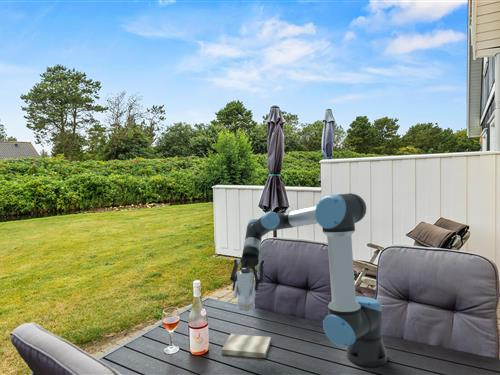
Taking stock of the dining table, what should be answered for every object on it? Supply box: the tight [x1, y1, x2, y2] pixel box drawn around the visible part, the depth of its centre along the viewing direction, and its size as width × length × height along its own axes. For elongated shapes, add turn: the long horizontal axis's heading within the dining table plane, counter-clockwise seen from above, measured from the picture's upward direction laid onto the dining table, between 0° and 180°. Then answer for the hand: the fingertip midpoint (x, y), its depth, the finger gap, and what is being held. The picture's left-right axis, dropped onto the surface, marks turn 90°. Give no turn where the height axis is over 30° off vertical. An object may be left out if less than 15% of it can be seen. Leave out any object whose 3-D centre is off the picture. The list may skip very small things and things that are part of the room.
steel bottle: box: [236, 267, 256, 312], centre depth 144 cm, size 7×7×17 cm
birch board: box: [221, 333, 272, 359], centre depth 144 cm, size 18×14×2 cm
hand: (243, 297), depth 140 cm, fingers closed on steel bottle, 7 cm apart
